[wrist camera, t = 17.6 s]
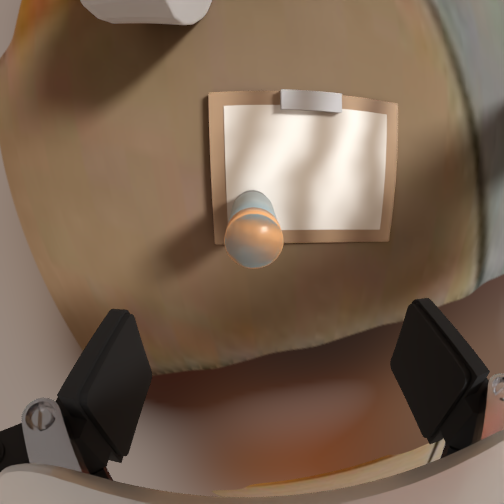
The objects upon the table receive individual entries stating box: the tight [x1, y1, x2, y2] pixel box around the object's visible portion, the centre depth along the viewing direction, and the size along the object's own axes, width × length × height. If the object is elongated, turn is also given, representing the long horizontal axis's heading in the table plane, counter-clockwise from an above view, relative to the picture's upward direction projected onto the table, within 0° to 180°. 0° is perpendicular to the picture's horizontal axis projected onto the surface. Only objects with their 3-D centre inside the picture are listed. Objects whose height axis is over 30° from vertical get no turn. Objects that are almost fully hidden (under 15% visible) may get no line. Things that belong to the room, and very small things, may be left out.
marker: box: [224, 190, 283, 268], centre depth 25 cm, size 4×4×10 cm
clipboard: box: [208, 89, 398, 245], centre depth 28 cm, size 20×16×2 cm
